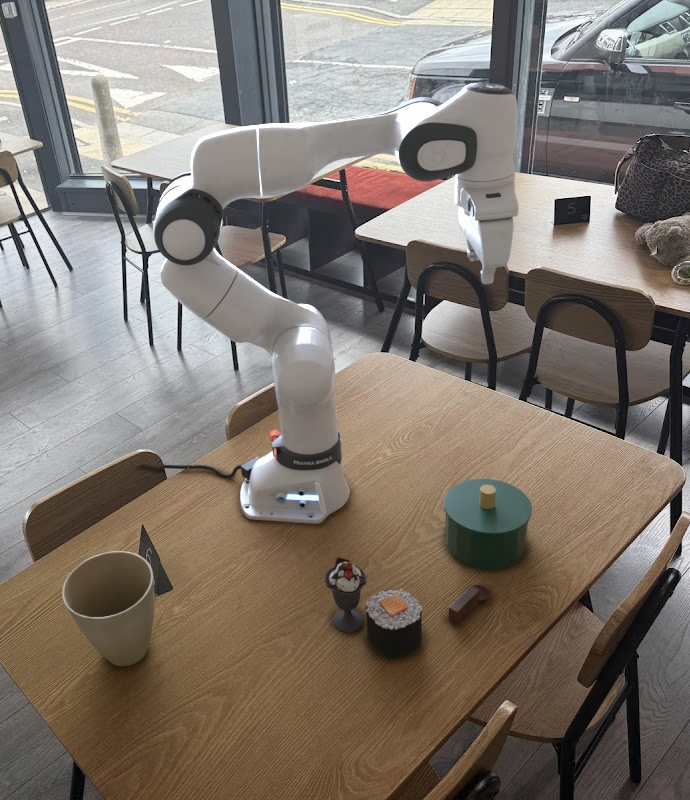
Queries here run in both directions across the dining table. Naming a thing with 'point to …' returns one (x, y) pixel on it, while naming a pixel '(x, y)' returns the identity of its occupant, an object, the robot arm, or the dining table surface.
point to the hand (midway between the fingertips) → (479, 270)
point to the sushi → (394, 623)
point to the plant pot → (113, 604)
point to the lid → (487, 507)
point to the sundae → (346, 593)
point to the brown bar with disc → (468, 602)
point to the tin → (485, 546)
